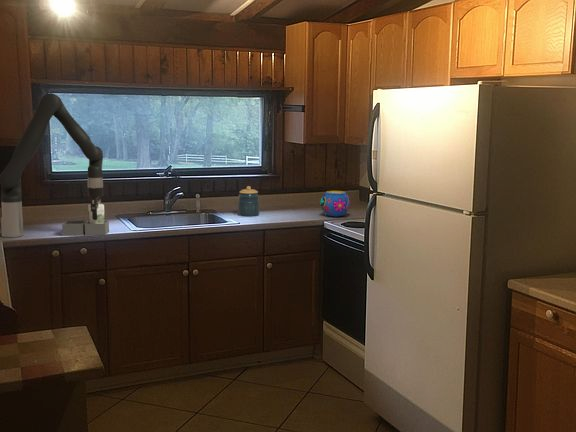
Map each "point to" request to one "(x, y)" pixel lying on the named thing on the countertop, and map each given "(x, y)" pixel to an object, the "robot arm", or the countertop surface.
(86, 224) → the bin
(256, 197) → the canister
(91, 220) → the syrup box
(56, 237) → the countertop surface
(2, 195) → the robot arm
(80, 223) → the bin
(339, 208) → the ceramic pot
